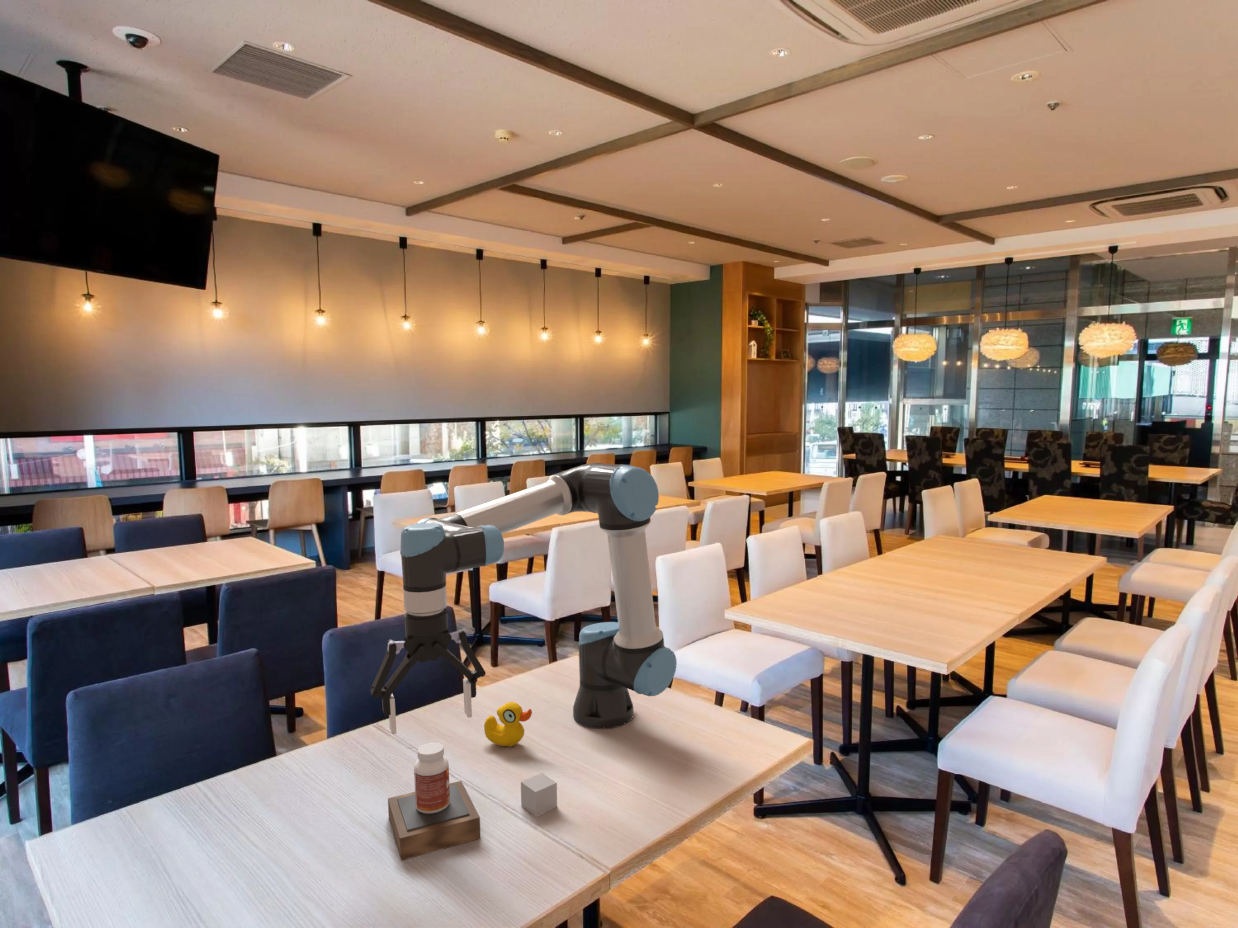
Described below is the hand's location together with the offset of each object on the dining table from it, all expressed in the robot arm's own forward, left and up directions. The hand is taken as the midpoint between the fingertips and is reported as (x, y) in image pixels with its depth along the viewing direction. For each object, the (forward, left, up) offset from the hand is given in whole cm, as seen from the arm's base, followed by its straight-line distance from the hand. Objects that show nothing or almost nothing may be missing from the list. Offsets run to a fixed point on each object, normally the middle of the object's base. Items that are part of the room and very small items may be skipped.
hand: (431, 722), depth 132 cm
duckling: (-22, -25, -20) cm, 39 cm away
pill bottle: (0, 0, -16) cm, 16 cm away
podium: (0, 0, -20) cm, 20 cm away
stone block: (-20, +2, -20) cm, 28 cm away
